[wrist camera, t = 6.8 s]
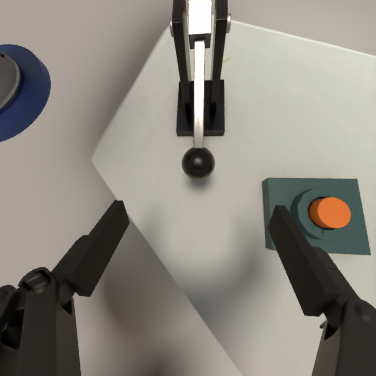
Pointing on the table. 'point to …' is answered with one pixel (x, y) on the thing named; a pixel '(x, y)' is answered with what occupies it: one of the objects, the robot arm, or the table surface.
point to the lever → (199, 88)
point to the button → (330, 213)
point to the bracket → (212, 88)
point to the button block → (299, 209)
